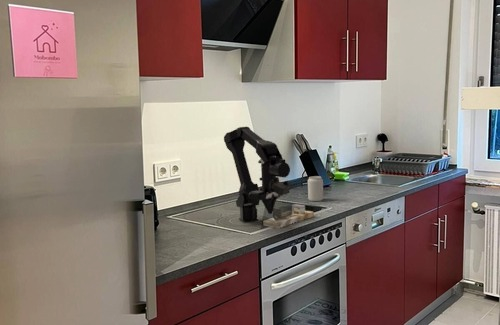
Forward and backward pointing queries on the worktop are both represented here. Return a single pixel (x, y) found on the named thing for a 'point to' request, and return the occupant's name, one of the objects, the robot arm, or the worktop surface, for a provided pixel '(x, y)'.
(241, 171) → the robot arm
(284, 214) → the bolt
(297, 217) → the door jamb
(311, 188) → the can
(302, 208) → the keeper
